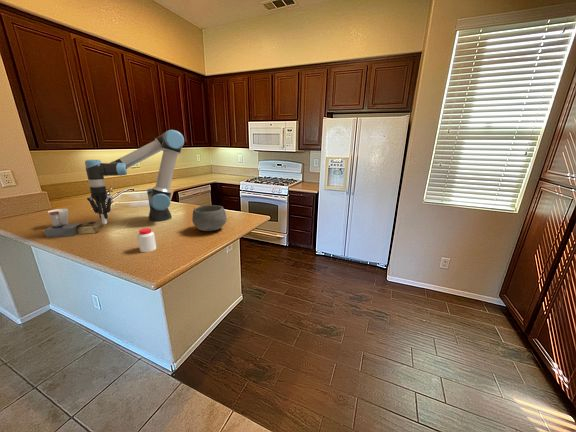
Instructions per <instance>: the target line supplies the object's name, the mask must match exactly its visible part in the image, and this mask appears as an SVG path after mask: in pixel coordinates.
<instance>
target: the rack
mask: <svg viewBox="0 0 576 432" xmlns="http://www.w3.org/2000/svg"><path fill="white" fill-rule="evenodd" d="M81 223H82V224H83V225H81V227H88V226H94V225H97V228H98V231H99V230H100V229H102V228H103V227H104V224H102V220H95V221H94V220H93V221H83V222H81Z"/></svg>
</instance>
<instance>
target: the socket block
mask: <svg viewBox="0 0 576 432" xmlns="http://www.w3.org/2000/svg"><path fill="white" fill-rule="evenodd" d="M82 223H83V222H79V223H78V222H77V223H76V222H75V223H74V222H73V223H68V224H62V227H60V228H54V227H53V225H51V226H49V227H46V228H45V229H44V235H45V237H46V238H63V237H65V238H66V237H75V236H77V235H78V234H77V231H76V228H77V227H81V225H83V224H82Z"/></svg>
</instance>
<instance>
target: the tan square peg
mask: <svg viewBox="0 0 576 432" xmlns="http://www.w3.org/2000/svg"><path fill="white" fill-rule="evenodd" d="M76 231H77V235H81V234H83V235H84V234H96V233H98V232H99V230H98V228H97V225H94V226H88V227H77V228H76Z"/></svg>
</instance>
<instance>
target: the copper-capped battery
mask: <svg viewBox="0 0 576 432" xmlns="http://www.w3.org/2000/svg"><path fill="white" fill-rule="evenodd" d="M49 214H50V215H49ZM48 215H49V217H50V219H51V223H52V226H53V227H54V228H60V227H62V222H61V218H60V215H59V211H54V212H50V213H48Z"/></svg>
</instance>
